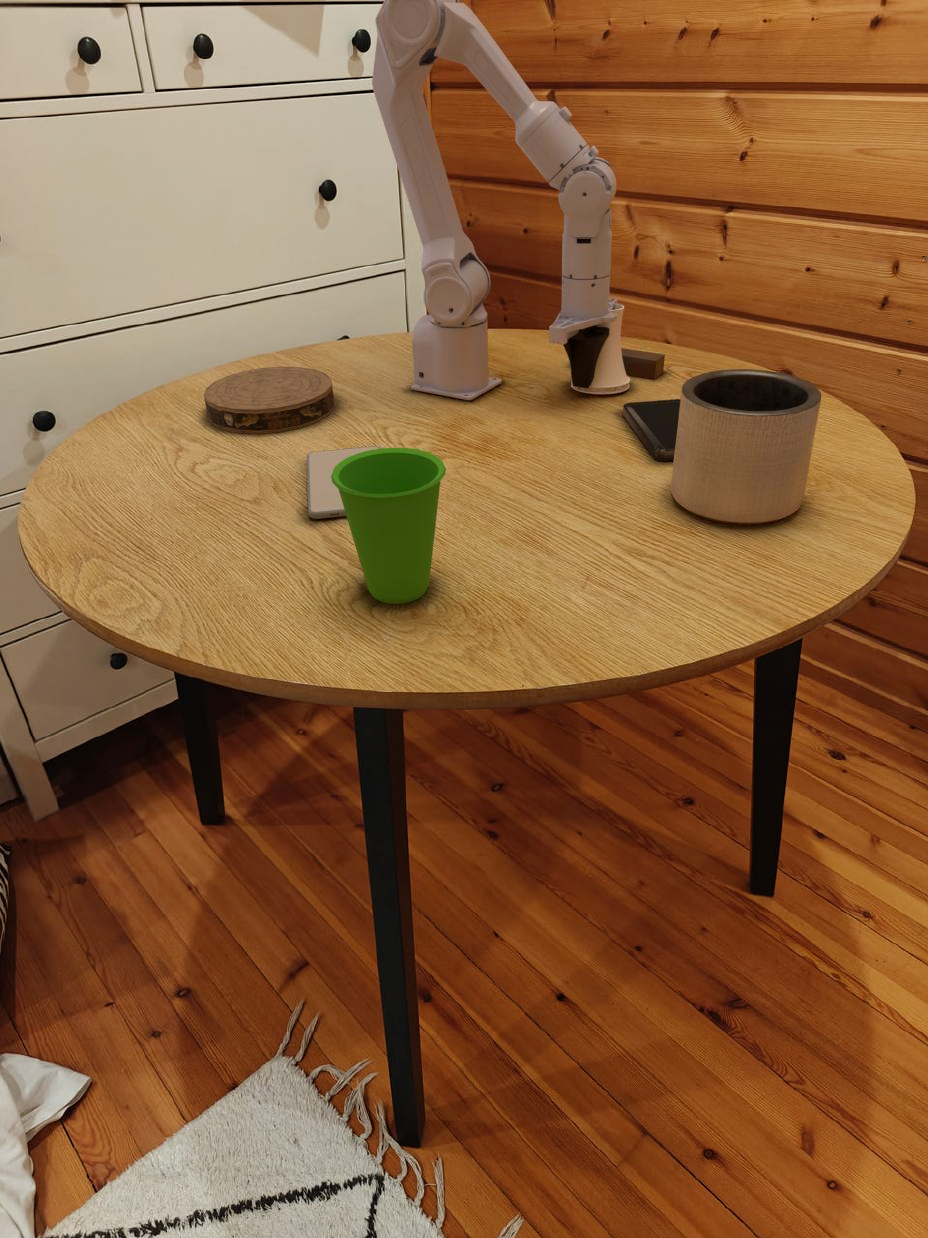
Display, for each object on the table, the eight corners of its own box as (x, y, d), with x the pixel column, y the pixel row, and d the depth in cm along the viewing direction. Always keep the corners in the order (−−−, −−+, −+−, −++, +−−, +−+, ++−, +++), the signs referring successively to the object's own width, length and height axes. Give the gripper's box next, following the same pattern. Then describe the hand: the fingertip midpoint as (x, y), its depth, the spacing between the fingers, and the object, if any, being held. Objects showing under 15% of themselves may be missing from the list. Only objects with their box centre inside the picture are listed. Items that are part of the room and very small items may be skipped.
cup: (347, 566, 81) (332, 450, 74) (448, 558, 81) (442, 443, 75) (344, 621, 73) (328, 498, 67) (455, 613, 73) (449, 489, 67)
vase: (613, 397, 112) (619, 315, 107) (560, 389, 116) (563, 308, 111) (639, 383, 118) (645, 303, 113) (587, 375, 122) (591, 297, 116)
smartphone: (307, 513, 88) (306, 451, 100) (309, 522, 88) (307, 459, 100) (393, 505, 88) (381, 444, 101) (394, 514, 89) (381, 452, 101)
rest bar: (573, 366, 125) (573, 348, 123) (583, 360, 127) (583, 342, 125) (654, 379, 119) (656, 360, 118) (663, 372, 121) (665, 354, 120)
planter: (826, 521, 84) (850, 406, 78) (698, 536, 83) (712, 420, 77) (767, 468, 95) (783, 362, 88) (652, 480, 93) (661, 374, 87)
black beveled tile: (656, 451, 96) (621, 402, 109) (655, 461, 97) (620, 411, 109) (728, 446, 97) (685, 398, 109) (727, 455, 97) (684, 406, 110)
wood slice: (357, 412, 113) (355, 388, 111) (238, 444, 105) (233, 419, 104) (301, 380, 124) (298, 358, 122) (189, 407, 116) (184, 384, 115)
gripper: (588, 291, 100) (584, 409, 108) (642, 264, 110) (635, 373, 118) (533, 285, 103) (533, 399, 111) (590, 259, 113) (586, 366, 121)
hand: (582, 385), depth 114 cm, fingers closed, pressing on vase
